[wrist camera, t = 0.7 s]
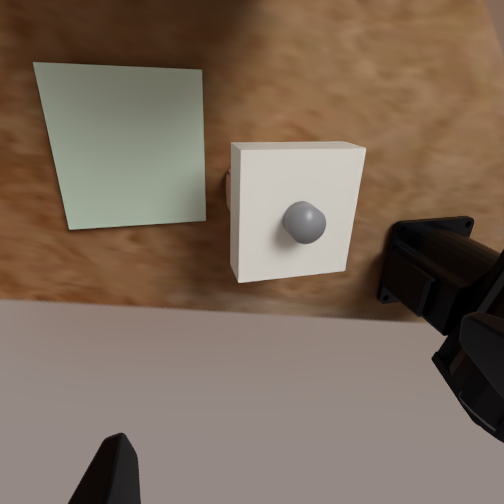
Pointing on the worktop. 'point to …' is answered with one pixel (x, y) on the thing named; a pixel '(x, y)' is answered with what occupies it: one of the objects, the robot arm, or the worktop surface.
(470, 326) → the robot arm
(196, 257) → the worktop surface
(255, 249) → the cover
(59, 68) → the mat
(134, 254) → the worktop surface
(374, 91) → the worktop surface
